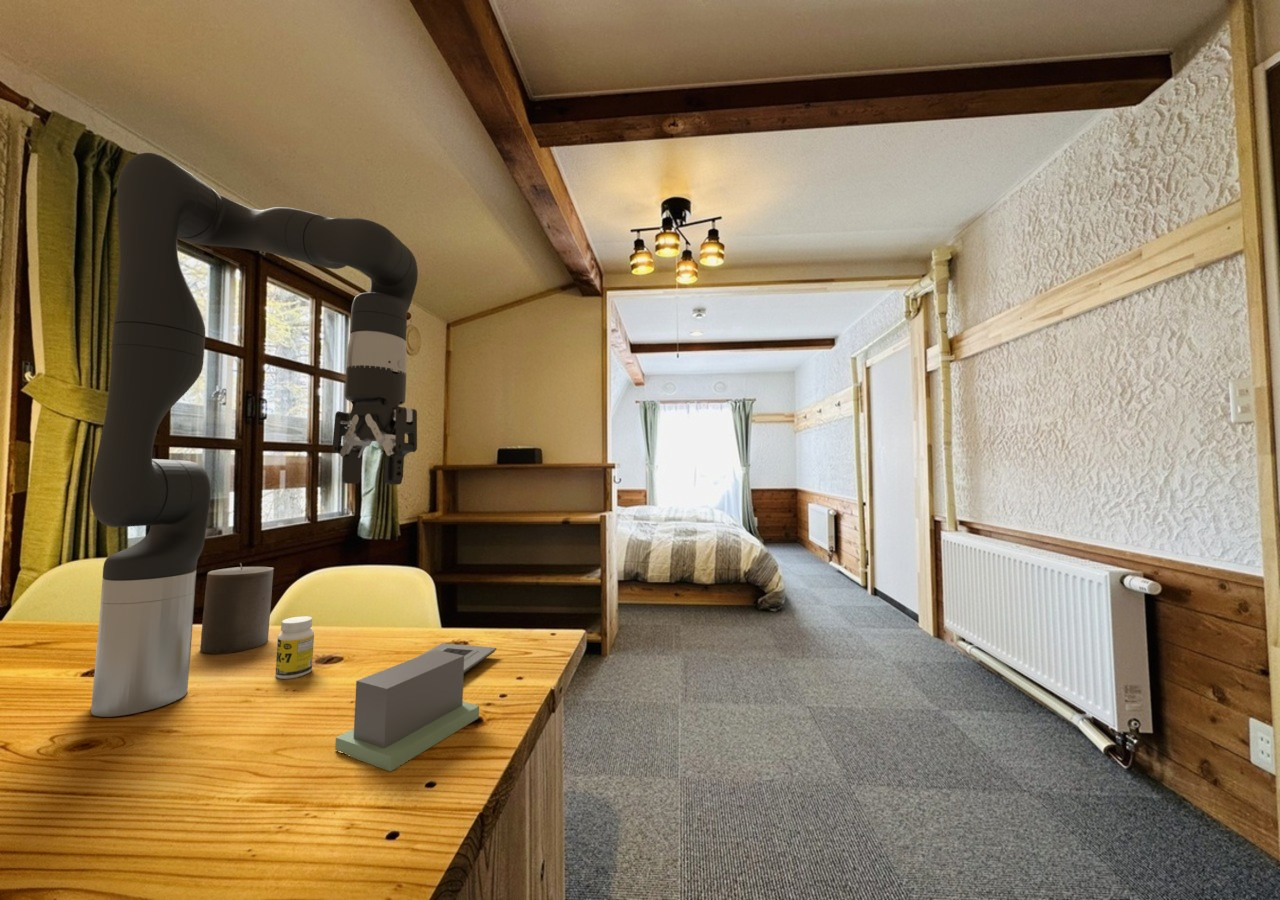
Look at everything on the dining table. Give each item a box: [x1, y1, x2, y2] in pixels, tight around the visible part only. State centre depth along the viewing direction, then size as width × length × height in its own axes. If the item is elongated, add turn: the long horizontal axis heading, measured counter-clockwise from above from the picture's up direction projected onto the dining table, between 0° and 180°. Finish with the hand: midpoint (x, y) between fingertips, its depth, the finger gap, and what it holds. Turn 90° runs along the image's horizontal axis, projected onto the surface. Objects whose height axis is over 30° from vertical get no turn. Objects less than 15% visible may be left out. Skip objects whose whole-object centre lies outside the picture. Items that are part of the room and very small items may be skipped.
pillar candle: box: [199, 562, 275, 655], centre depth 90 cm, size 10×10×15 cm
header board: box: [334, 701, 480, 772], centre depth 59 cm, size 9×13×6 cm
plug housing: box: [353, 650, 465, 748], centre depth 59 cm, size 5×11×6 cm, turn 156°
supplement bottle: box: [275, 615, 315, 680], centre depth 77 cm, size 5×5×8 cm
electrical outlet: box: [417, 642, 497, 674], centre depth 79 cm, size 13×10×2 cm
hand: (371, 484), depth 68 cm, fingers open, 8 cm apart
